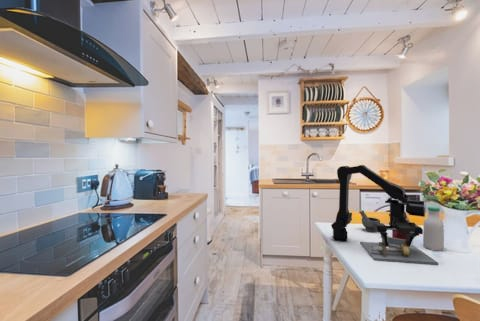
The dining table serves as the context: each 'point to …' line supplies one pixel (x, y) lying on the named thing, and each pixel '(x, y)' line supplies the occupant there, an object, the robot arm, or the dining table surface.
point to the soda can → (398, 235)
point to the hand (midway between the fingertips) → (397, 246)
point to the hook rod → (393, 249)
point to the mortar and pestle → (368, 222)
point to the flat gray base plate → (399, 255)
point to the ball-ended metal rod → (395, 241)
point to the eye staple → (383, 249)
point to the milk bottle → (433, 230)
